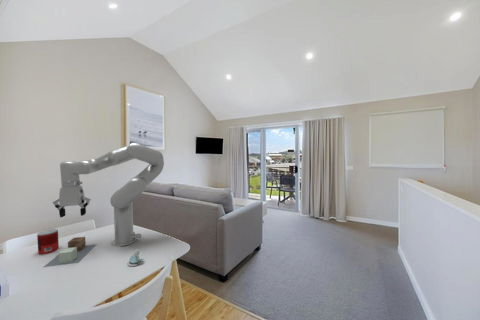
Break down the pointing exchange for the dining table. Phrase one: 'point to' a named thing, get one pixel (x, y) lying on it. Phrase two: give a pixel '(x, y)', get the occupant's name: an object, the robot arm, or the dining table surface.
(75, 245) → the walnut block
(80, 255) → the mat
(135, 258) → the pacifier
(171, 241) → the dining table surface
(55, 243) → the canned food
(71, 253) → the sage block
